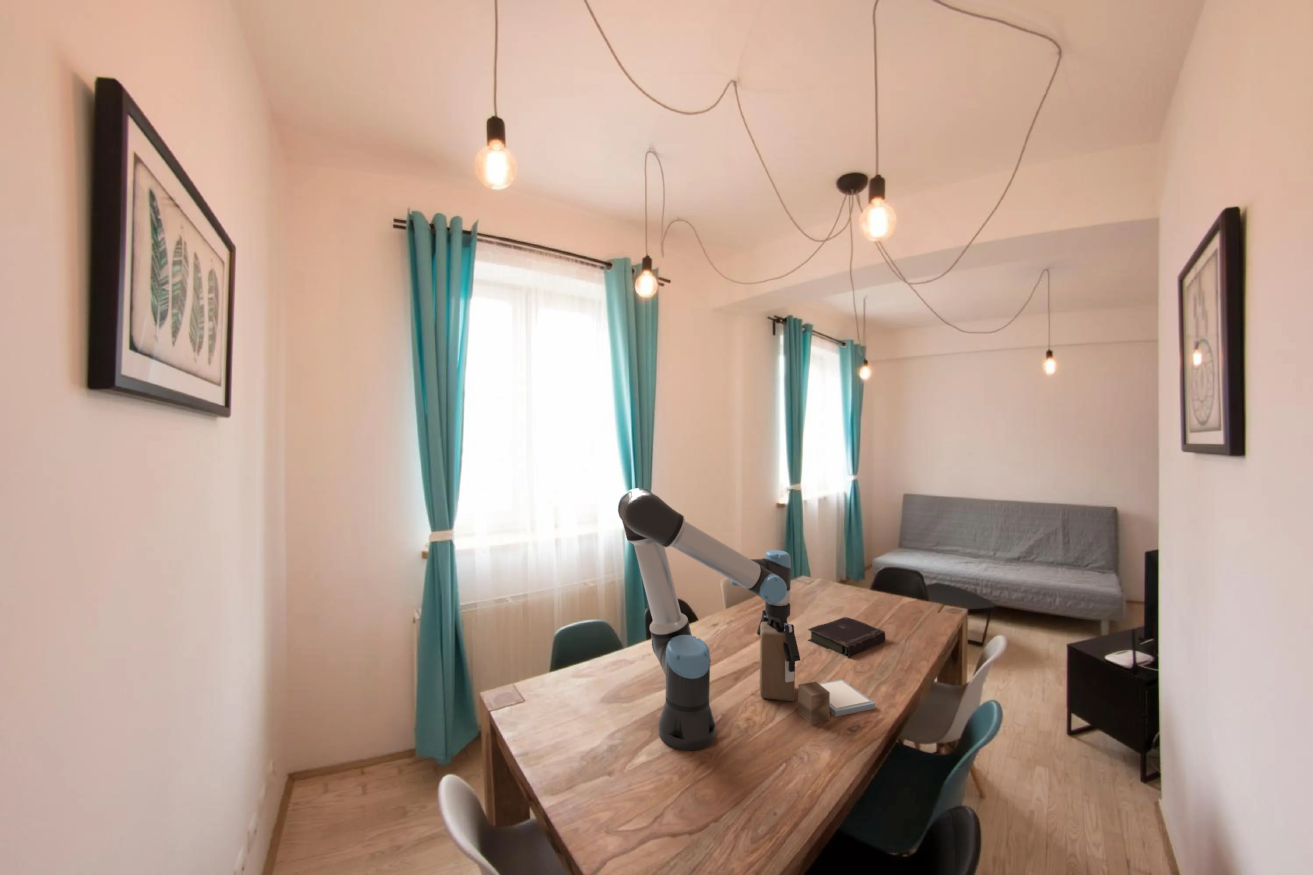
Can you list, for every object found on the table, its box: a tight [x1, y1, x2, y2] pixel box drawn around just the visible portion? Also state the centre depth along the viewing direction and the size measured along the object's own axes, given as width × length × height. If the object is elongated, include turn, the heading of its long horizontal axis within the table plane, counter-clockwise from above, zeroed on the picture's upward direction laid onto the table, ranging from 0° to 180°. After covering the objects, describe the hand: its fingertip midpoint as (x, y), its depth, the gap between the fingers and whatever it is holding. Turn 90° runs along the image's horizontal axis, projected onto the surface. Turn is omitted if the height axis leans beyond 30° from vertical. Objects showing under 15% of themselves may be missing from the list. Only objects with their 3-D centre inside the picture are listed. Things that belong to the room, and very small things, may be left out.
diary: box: [807, 616, 886, 659], centre depth 181 cm, size 19×25×5 cm
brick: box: [797, 681, 830, 726], centre depth 131 cm, size 6×6×8 cm
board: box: [818, 678, 876, 718], centre depth 140 cm, size 14×14×2 cm
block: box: [759, 622, 796, 702], centre depth 143 cm, size 10×10×20 cm
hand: (776, 670), depth 143 cm, fingers closed on block, 13 cm apart
